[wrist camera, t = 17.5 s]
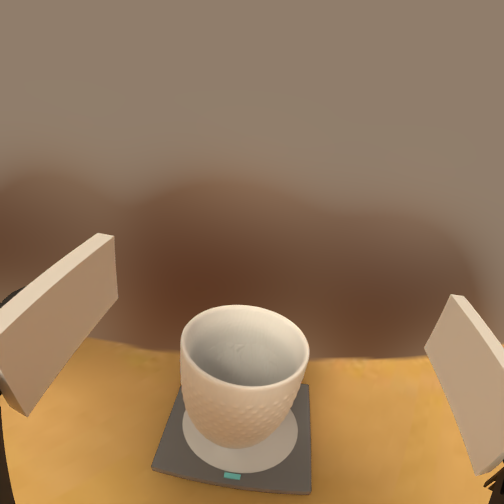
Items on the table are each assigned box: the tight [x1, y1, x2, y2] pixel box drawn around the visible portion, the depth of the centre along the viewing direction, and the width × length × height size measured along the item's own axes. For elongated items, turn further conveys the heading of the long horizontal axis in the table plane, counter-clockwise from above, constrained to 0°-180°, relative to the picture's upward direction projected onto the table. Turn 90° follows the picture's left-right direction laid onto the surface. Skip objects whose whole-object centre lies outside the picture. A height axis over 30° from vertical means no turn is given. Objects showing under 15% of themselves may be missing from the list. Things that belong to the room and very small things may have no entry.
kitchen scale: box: [151, 384, 311, 495], centre depth 31 cm, size 16×16×1 cm
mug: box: [180, 305, 309, 449], centre depth 29 cm, size 15×11×13 cm
